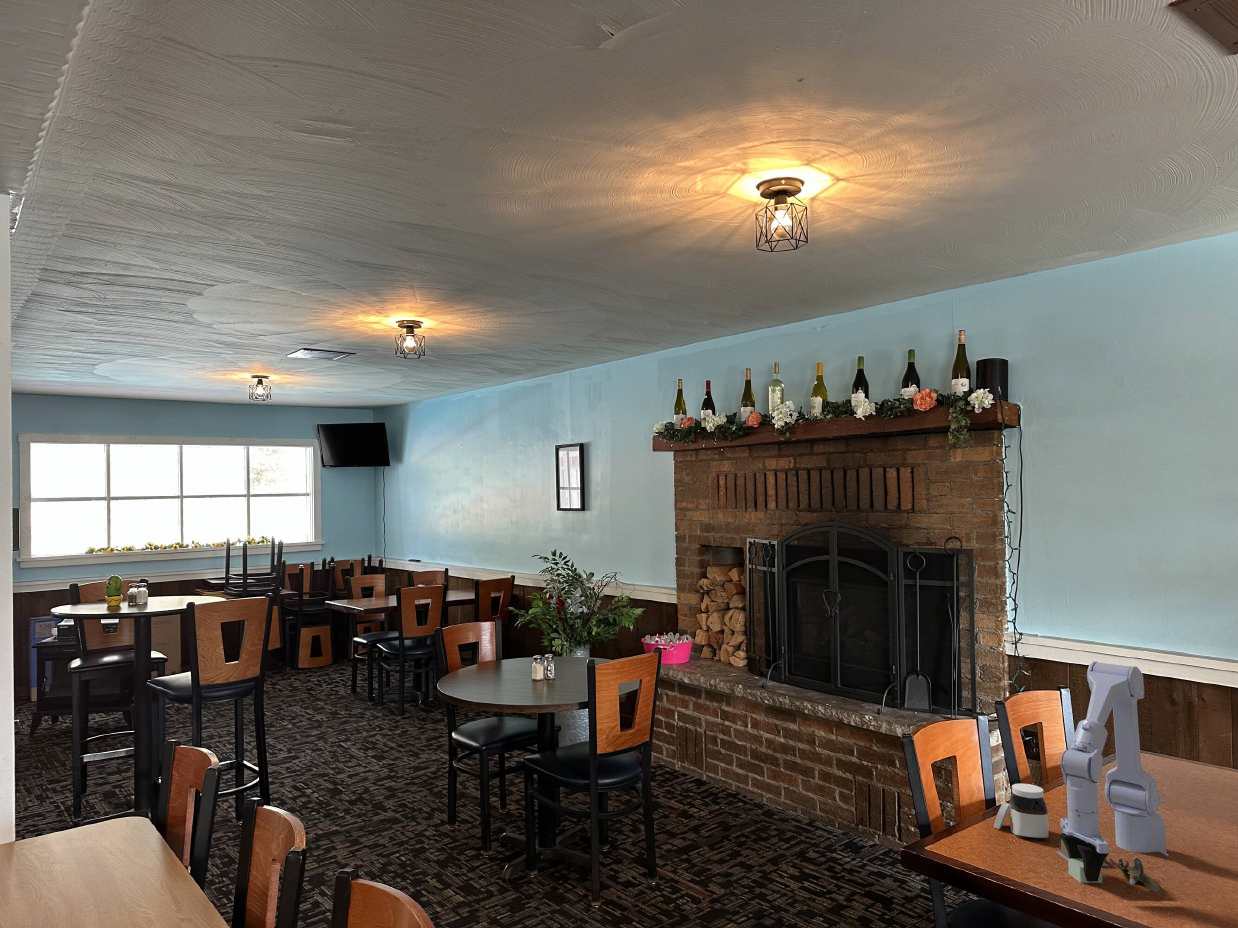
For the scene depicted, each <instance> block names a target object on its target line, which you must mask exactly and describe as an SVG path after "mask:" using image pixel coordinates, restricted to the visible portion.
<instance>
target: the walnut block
mask: <svg viewBox="0 0 1238 928" xmlns="http://www.w3.org/2000/svg"><path fill="white" fill-rule="evenodd" d="M1060 849H1061V850H1060V852H1061V853H1062V854H1063V855H1064V856H1066V857H1067V858H1068V859H1070V858H1069V855H1068V852H1067V849H1066V846H1065V844H1064V842H1063V840H1062V839H1061V838H1060Z"/></svg>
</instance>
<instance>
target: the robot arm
mask: <svg viewBox="0 0 1238 928" xmlns="http://www.w3.org/2000/svg"><path fill="white" fill-rule="evenodd" d="M1086 679H1087V682H1088V687H1089V690H1090V692H1091V693H1090V699H1089V704H1088V708H1087V713H1086V717H1085V719H1082V720H1080V721H1079V722H1078V724H1077V727H1076V729H1075V732H1074V735H1073V738H1072V742H1071V744H1070V747H1069V748H1068V749H1066V750H1063V752H1062V754H1061V758H1060V770H1061V773H1062V776H1063V783H1064V785H1066V805H1067V806H1066V807H1067V817H1061V818H1060V819H1059V820H1060V828H1062V832H1061V833H1060V834H1059V836H1060V840H1061V839H1062V840H1063V842H1064V844H1065V846H1066V849H1067V852H1068V855H1069V858H1070V859H1082V860H1083V865H1084V872H1085V877H1086V880H1087V881H1098V879H1099V875H1100V871H1101V867H1102V868H1103V866H1102V864H1103V862H1105V860H1106V859H1107V857H1108V856H1109V854H1110V847H1109V846H1110V845H1109V843H1108V842H1107V841H1105V838H1104V837H1103V835H1102V833H1101V831H1100V821H1099V797H1098V796H1099V795H1098V790H1099V789H1098V782H1099V780H1100V778H1101V776H1102V773H1103V759H1104V757H1103V755H1102V754H1103V751H1104V748H1105V744H1106V741H1107V737H1108V734H1109V733H1108V730H1107V728H1106V727H1105V725H1106V723H1107V721H1108V718H1109V716H1110V714H1111V712H1113V713H1112V715H1113V716H1112V717H1113V728H1114V744H1115V745H1114V746H1115V759H1116V766H1115V767H1112V768H1111V769H1110V770H1108V771H1107V773H1106V775H1105V785H1104V795H1105V799H1106V801H1107V803H1109V804H1110V805H1111V809H1114V825H1115V826H1114V827H1115V828H1114V830H1115V845H1116V846H1117V847H1118V848H1121V849H1123V850H1125V851H1127V852H1128V851H1129V852H1132V853H1139V854H1146V853H1147V854H1148V853H1161V854H1163V855H1164V856H1166V857H1169V853H1167V839H1166V838H1167V837H1166V825H1165V822H1164V819H1163V817H1162V816H1161V814H1160V813H1159V812H1158V811H1159V808H1160V802H1161V798H1160V797H1161V795H1160V792H1159V789H1158V783H1157V779H1156V778H1155V777H1154V776H1153V775H1151V774H1150V773H1149V772H1147V771H1146V770H1145V769H1144V768H1142V759H1141V745H1140V731H1139V730H1140V729H1139V717H1138V716H1139V715H1138V714H1139V713H1138V700H1141V699H1144V698H1145V686H1144V685H1145V684H1144V674H1143V673H1142V670H1141V669H1140V668H1139V667H1138V666H1129V665H1123V664H1122V665H1121V664H1119V665H1118V664H1112V663H1104V662H1098V661H1092V662H1091V663H1090V664H1089V665H1088V668H1087V671H1086Z"/></svg>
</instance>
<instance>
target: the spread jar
mask: <svg viewBox="0 0 1238 928" xmlns="http://www.w3.org/2000/svg"><path fill="white" fill-rule="evenodd" d="M1011 792H1012V793H1011V795H1009V800H1008V802H1005V801H1003V802H1002V804H1001V805H1000V807H999V809H998V812H997V813H996V817H995V820H994V824H993V828H994V829H997V830H1000V829H1001V828H1002V827H1003V825H1004V824H1005V822H1006V819H1007V818H1008V817H1007V816H1008V814H1009V826H1010V832H1011V833H1012V834H1013V835H1014V836H1015V837H1016V838H1019V839H1021V840H1027V841H1036V842H1037V841H1039V842H1040V841H1041V842H1042V841H1046V840H1048V838H1049V814H1048V813H1049V812H1048V805H1047V802H1046V801H1045V799H1044V794H1045V793H1044V789H1043V788H1042V787H1040V786H1038V785H1035V784H1029V783H1014V784H1012V785H1011Z"/></svg>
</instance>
